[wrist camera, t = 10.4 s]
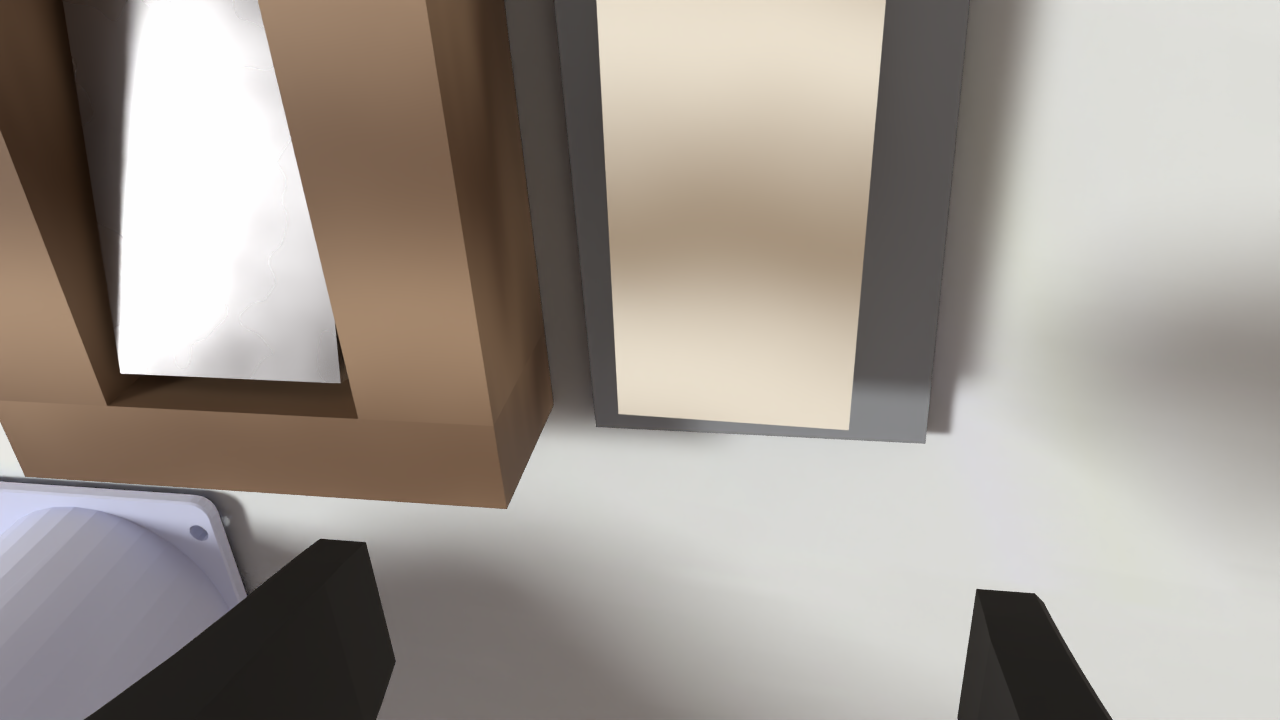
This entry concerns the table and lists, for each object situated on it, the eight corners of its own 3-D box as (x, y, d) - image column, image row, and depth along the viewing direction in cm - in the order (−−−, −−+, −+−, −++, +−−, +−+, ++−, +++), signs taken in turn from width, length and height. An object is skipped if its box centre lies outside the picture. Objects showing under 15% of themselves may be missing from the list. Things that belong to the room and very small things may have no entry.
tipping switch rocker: (59, -124, 19) (43, -127, 18) (302, -137, 18) (290, -141, 17) (133, 367, 21) (120, 373, 21) (350, 377, 20) (340, 383, 20)
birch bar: (617, -91, 17) (592, -73, 16) (887, -94, 17) (892, -77, 15) (636, 362, 22) (618, 414, 20) (848, 376, 21) (848, 430, 20)
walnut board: (-129, -311, 18) (-339, -324, 15) (459, -367, 16) (362, -395, 13) (128, 384, 26) (25, 476, 22) (553, 404, 24) (507, 508, 20)
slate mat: (924, 430, 22) (925, 443, 22) (600, 414, 23) (596, 426, 23) (1001, -352, 15) (1005, -354, 15) (531, -313, 16) (523, -314, 16)
